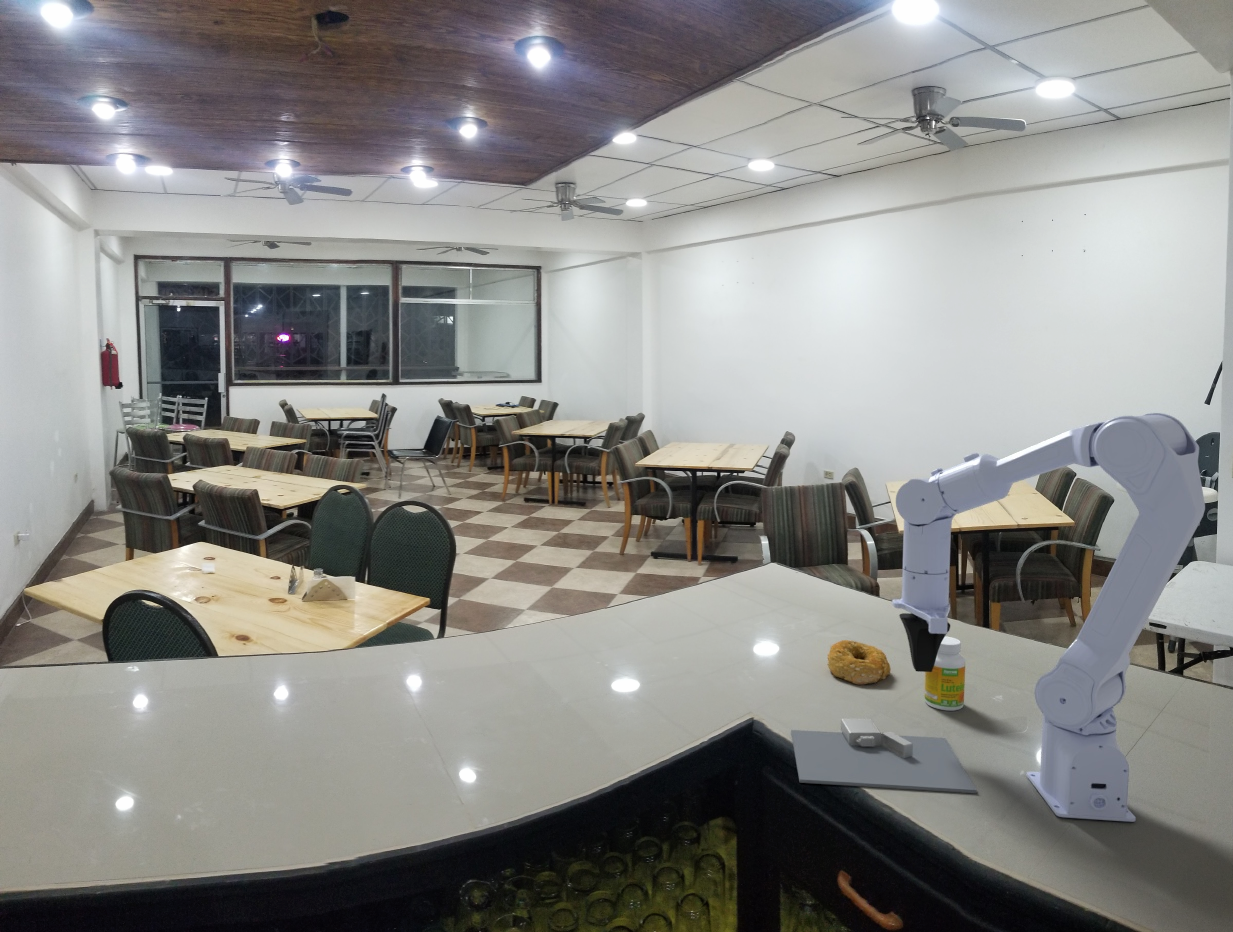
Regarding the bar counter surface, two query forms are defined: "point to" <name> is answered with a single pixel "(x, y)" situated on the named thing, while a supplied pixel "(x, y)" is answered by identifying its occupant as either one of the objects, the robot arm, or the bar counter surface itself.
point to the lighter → (874, 736)
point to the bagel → (857, 662)
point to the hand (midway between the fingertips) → (922, 669)
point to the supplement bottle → (946, 677)
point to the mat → (878, 763)
